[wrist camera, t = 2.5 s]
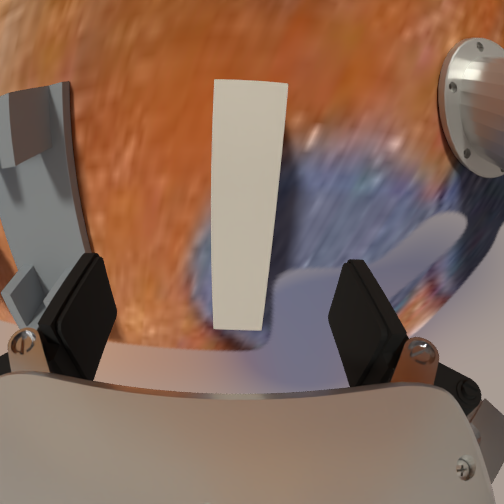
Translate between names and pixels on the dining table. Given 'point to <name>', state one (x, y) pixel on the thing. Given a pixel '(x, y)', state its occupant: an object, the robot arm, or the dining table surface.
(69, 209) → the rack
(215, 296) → the light grey rectangular block
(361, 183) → the dining table surface
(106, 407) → the robot arm
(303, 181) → the dining table surface
